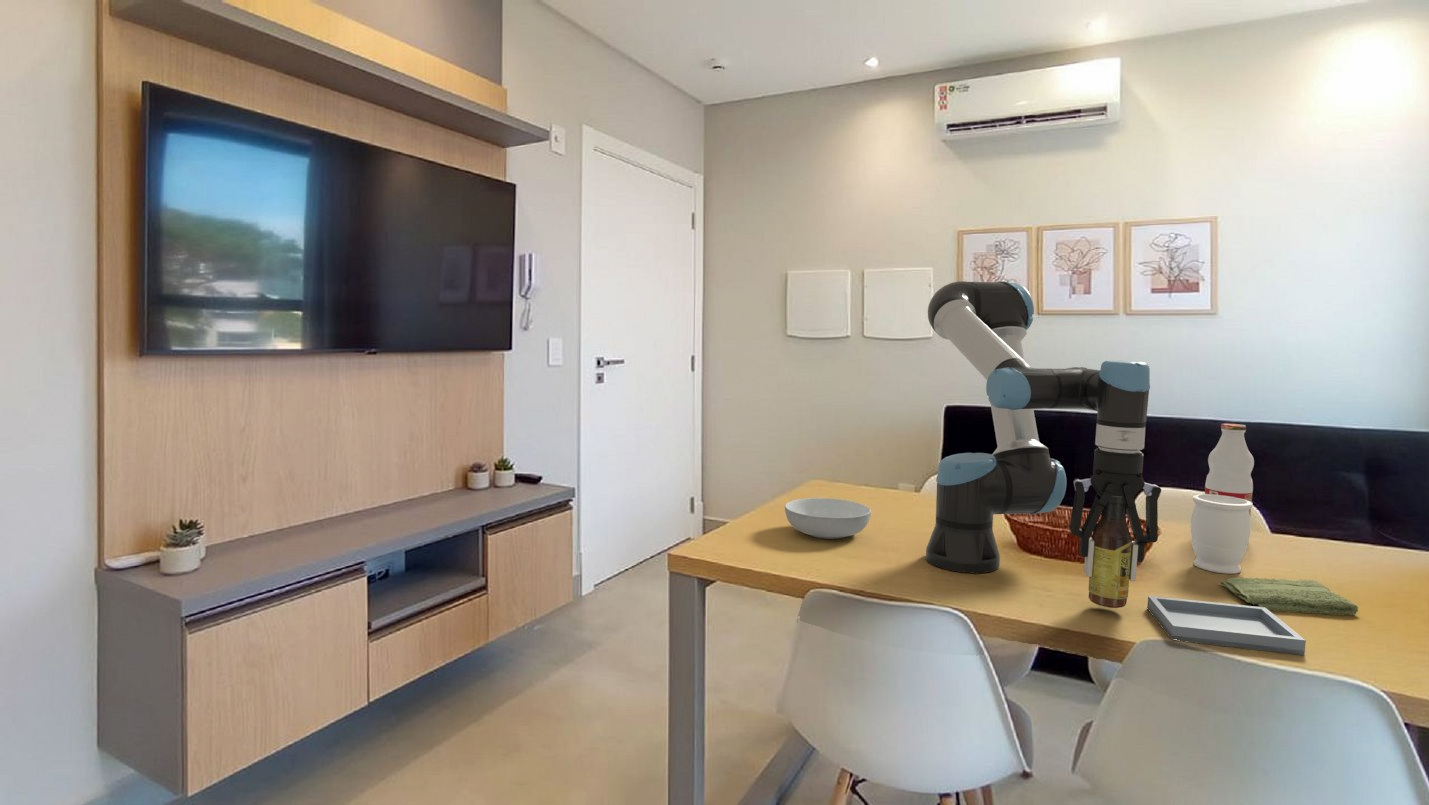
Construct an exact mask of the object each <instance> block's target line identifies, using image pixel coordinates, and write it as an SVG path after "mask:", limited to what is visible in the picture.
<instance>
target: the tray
mask: <svg viewBox="0 0 1429 805" xmlns="http://www.w3.org/2000/svg"><path fill="white" fill-rule="evenodd" d="M1146 606H1147V607H1146V609H1147V608H1148V609H1147V610H1148V611H1149V610H1150V611H1149V613H1150V612H1151V613H1152V614H1153V615H1152V614H1151V613H1150V614H1151V615H1152V617H1153V618H1154V617H1155V618H1154V619H1155V620H1156V619H1157V620H1156V622H1157V621H1158V622H1159V623H1160V624H1159V623H1158V622H1157V623H1158V624H1159V625H1160V627H1161V626H1162V627H1163V628H1162V627H1161V628H1162V630H1164V632H1165V633H1166V632H1167V633H1166V634H1167V635H1168V637H1169V638H1170V639H1171V638H1172V639H1177V640H1180V642H1185V641H1188V642H1187V643H1194V644H1204V645H1211V644H1212V645H1213V644H1214V645H1213V646H1219V645H1220V646H1221V647H1228V648H1229V647H1230V648H1237V647H1238V649H1239V648H1240V649H1248V650H1255V651H1264V652H1273V653H1281V654H1289V653H1293V654H1292V655H1298V654H1299V656H1305V654H1306V653H1305V652H1306V643H1307V641H1306V639H1304V638H1303V636H1301V635H1300V634H1299V633H1297V632H1296V631H1295V630H1294V629H1293V628H1291V627H1290V626H1288V625H1287V623H1285V622H1284V621H1282V619H1280V618H1279V617H1278V616H1276V614H1274V613H1273V612H1271V611H1270V610H1268V609H1267V608H1265V607H1256V606H1254V605H1253V606H1252V605H1245V604H1244V605H1243V604H1232V603H1224V602H1213V601H1206V600H1205V601H1204V600H1203V601H1202V600H1195V599H1194V600H1193V599H1183V598H1175V597H1164V596H1163V597H1162V596H1156V595H1155V596H1154V595H1148V596H1147V605H1146ZM1172 639H1171V640H1172ZM1196 642H1197V643H1196Z"/></svg>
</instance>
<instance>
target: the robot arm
mask: <svg viewBox="0 0 1429 805" xmlns="http://www.w3.org/2000/svg"><path fill="white" fill-rule="evenodd" d="M1034 314H1035V307H1034V301H1033V298H1032V295H1031V293H1030V292H1029V291H1028V289H1027V288H1026V287H1025V286H1023V285H1021V284H1019V283H1017V282H1016V283H1015V282H1008V281H996V282H995V281H992V282H991V281H965V280H964V281H960V280H958V281H953V282H949V283H948V284H945V285H944V286H942V287H941V288H939V289H938V290H937V291H936V292H935V293H934V294H933V296H932V298H931V299H930V301H929V303H928V307H927V319H928V323H929V324H930V327H931V328H932V330H933V331H934V332H935V333H936V334H937V335H938V336H939V337H940V338H942V339H945V340H949V341H950V342H951V343H952V345H953V346H955V348H956V349H957V350H958V351H959V352H960V354H962V355H963V356H964V357H965V358H966V359H967V361H968V362H970V364H971V365H972V366H973V367H974V368H975V369H976V371H978V372H979V374H980V375H981V376H983V378H984V380H985V379H986V387H985V390H986V396H988V401H989V402H990V409H991V415H992V422H993V426H994V432H995V440H996V445H997V447H996V449H995V450H994V451H993V453H985V452H974V453H973V452H963V453H956V454H955V453H954V454H951V455H949V456H948V455H947V456H945V457H944V458H943V459H940V461H939V463H938V465H937V466H938V468H937V474H936V503H935V525H934V527H933V530H932V533H931V535H930V538H929V540H928V543H927V546H926V549H925V560H926V561H927V562H928V563H929V564H931V565H933V566H935V567H937V568H940V569H943V570H948V571H951V572H952V571H953V572H960V573H966V574H968V573H970V574H982V573H990V572H994V571H996V570H998V569H999V568H1000V566H1001V565H1000V562H1001V555H1000V552H999V548H998V545H997V541H996V537H995V535H994V531H993V530H994V529H993V526H994V524H993V523H994V515H1012V514H1013V515H1015V514H1016V515H1017V514H1019V515H1020V514H1022V515H1023V514H1029V515H1036V514H1037V515H1038V514H1043V513H1050V512H1053V511H1055V510H1056V509H1057V508H1058V507H1059V506H1060V505H1061V503H1062V501H1063V499H1064V497H1065V495H1066V490H1067V476H1066V471H1065V468H1064V466H1063V465H1062V464H1061V462H1060V461H1058V460H1057V459H1054V458H1051V456H1050V452H1049V447H1047V446H1046V445H1044V444H1043V443H1041V442H1040V438H1039V434H1038V428H1037V423H1036V417H1035V416H1036V415H1035V411H1034V410H1038V409H1039V410H1044V409H1045V410H1047V409H1048V410H1051V409H1052V410H1057V409H1059V410H1062V409H1063V410H1070V409H1071V410H1075V409H1076V410H1077V409H1078V410H1089V411H1096V412H1097V416H1096V426H1095V427H1096V428H1095V441H1094V445H1095V446H1096V448H1095V449H1094V454H1093V455H1094V456H1093V468H1092V473H1091V475H1090V476H1089V478H1084V479H1079V478H1074V479H1073V481H1072V484H1073V488H1074V489H1073V490H1074V497H1073V503H1072V510H1071V515H1070V516H1071V517H1070V521H1069V523H1070V524H1069V531H1070V533H1071V535H1073V536H1076V537H1078V538H1079V549H1078V550H1079V551H1078V552H1079V555H1080V556H1081V558H1082V557H1083V558H1084V565H1083V566H1084V567H1083V572H1084V574H1085V575H1086V577H1088V578H1089V577H1092V567H1093V553H1094V540H1093V537H1092V536H1093V530H1094V528H1095V526H1096V524H1097V523H1098V522H1099V520H1100V517H1101V513H1102V511H1103V509H1104V507H1105V506H1106V504H1107V502H1108V500H1109V498H1110V496H1121V497H1124V498H1125V501H1126V502H1127V504H1126V515H1127V517H1128V521H1129V522H1128V523H1129V524H1130V529H1131V532H1132V537H1133V539H1134V540H1132V549H1131V563H1130V575H1129V582H1136V576H1137V566H1138V565H1137V564H1138V562H1139V563H1143V561H1144V558H1145V557H1144V556H1145V547H1146V546H1147V545H1148V544H1149V543H1156V542H1157V543H1158V541H1159V540H1158V539H1159V538H1158V537H1159V536H1158V535H1159V531H1158V530H1159V528H1158V526H1159V524H1158V518H1159V517H1158V514H1159V513H1158V511H1159V510H1158V508H1159V507H1158V505H1159V504H1158V501H1159V498H1160V496H1161V493H1162V488H1161V487H1160V486H1158V485H1157V484H1156V483H1155V484H1154V483H1152V484H1151V483H1147V482H1145V480H1144V478H1143V467H1144V456H1145V455H1144V453H1143V452H1142V450H1144V449H1145V441H1146V439H1145V438H1146V425H1147V417H1148V407H1149V405H1148V404H1149V396H1150V390H1151V384H1150V381H1151V379H1150V371H1151V370H1150V366H1149V365H1148V363H1146V362H1144V361H1133V360H1105V361H1103V362H1101V366H1100V370H1099V369H1093V368H1088V367H1084V366H1083V367H1082V366H1080V367H1077V366H1076V367H1073V366H1072V367H1066V368H1035V367H1032V366H1031V365H1030V364H1028V363H1027V361H1025V356H1024V351H1023V345H1022V341H1023V339H1024V338H1025V337H1026V336H1027V333H1028V332H1027V330H1028V329H1030V327H1031V325H1032V323H1033V321H1034V317H1033V315H1034ZM1090 486H1092V487H1093V489H1094V491H1095V492H1096V495H1095V497H1094V499H1093V500H1094V501H1093V504H1092V505H1091V507H1090V510H1089V511H1088V513H1087V516H1086V518H1085V521H1084V523H1083V524H1082V518H1083V514H1084V513H1083V511H1084V506H1085V499H1086V493H1087V492H1088V491H1089V488H1090ZM1142 490H1143V494H1144V495H1145V533H1144V531H1143V528H1142V524H1141V521H1140V517H1139V513H1138V509H1137V504H1136V501H1135V496H1137V495H1138V493H1140V491H1142ZM1081 524H1082V527H1081Z"/></svg>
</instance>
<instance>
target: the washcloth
mask: <svg viewBox="0 0 1429 805" xmlns="http://www.w3.org/2000/svg"><path fill="white" fill-rule="evenodd" d="M1220 584H1221V585H1222V586H1224V588H1226V589H1227V590H1229V591H1231V592H1232V593H1233V595H1234V596H1236V597H1238V598H1240V599H1241V600H1244V601H1245V603H1248V604H1249V603H1250V604H1251V605H1253V606H1255V607H1265V608H1267V609H1268V610H1269V611H1270V612H1271V611H1273V612H1286V611H1289V612H1288V613H1302V614H1305V613H1306V614H1317V613H1320V614H1319V615H1335V616H1337V615H1338V616H1348V617H1350V616H1352V615H1356V614H1357V613H1358V612H1359V607H1358V605H1356V604H1355V603H1353V602H1352V601H1351V600H1348V599H1347V598H1345V597H1343V596H1341V595H1339V594H1336V593H1335V592H1332V591H1331V589H1329V588H1328V587H1327V586H1325V585H1324V584H1322V583H1320V582H1318V580H1313V579H1296V580H1295V579H1294V580H1292V579H1285V578H1276V579H1275V578H1258V577H1255V578H1254V577H1230V578H1227V579H1223V580H1221V581H1220Z"/></svg>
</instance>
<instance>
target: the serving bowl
mask: <svg viewBox="0 0 1429 805" xmlns="http://www.w3.org/2000/svg"><path fill="white" fill-rule="evenodd" d="M784 512H785V515H786V520H787V522H789V524H790V525H791V526H792V527H793V529H795V530H797V531H798V532H801V533H803V534H806V535H808V536H811V537H814V538H817V539H818V538H819V539H825V540H826V539H827V540H832V539H833V540H834V539H835V540H836V539H842V538H845V537H846V538H847V537H851V536H853V535H856V534H858V533H860V532H862V531H863V530H864V529H865V528H866V527H867V525H868V523H869V522H870V518H871V515H872V509H871V508H870V507H869V506H868V505H865V504H862V503H859V502H856V501H852V500H846V499H840V498H831V497H830V498H828V497H808V498H799V499H793V500H790V501H788V502H786V503H785V505H784Z"/></svg>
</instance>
